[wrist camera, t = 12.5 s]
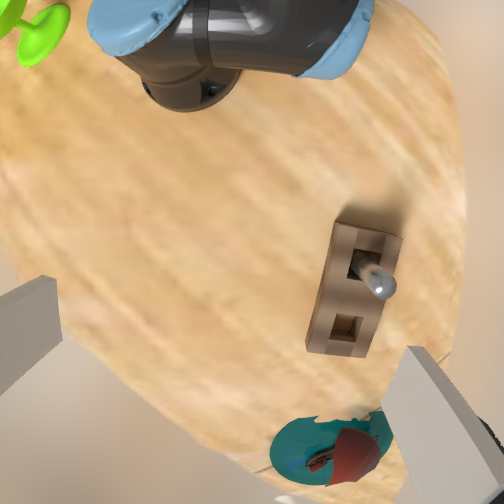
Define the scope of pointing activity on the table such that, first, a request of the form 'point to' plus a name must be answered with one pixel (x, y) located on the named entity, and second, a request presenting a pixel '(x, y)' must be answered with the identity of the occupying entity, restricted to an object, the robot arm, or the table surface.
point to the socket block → (349, 292)
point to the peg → (373, 276)
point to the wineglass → (34, 29)
